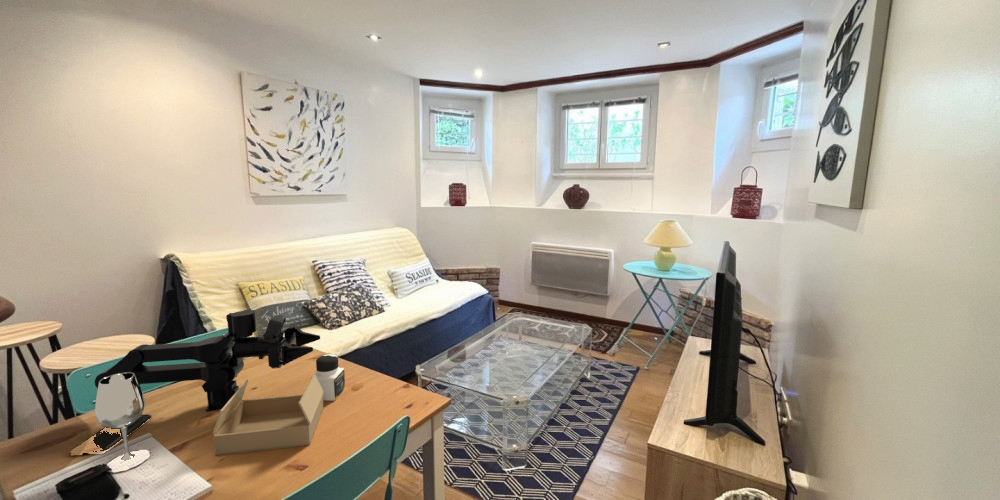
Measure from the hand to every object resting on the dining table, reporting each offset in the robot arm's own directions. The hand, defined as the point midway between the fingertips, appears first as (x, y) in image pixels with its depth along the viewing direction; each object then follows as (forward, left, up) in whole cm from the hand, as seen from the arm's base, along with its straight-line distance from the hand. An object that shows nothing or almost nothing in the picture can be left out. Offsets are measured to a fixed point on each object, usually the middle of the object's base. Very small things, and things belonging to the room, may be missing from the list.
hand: (316, 343), depth 114 cm
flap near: (-16, -16, -9) cm, 24 cm away
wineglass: (-35, -22, -17) cm, 45 cm away
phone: (-45, -10, -17) cm, 49 cm away
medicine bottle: (+3, 0, -17) cm, 17 cm away
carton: (-7, -16, -17) cm, 24 cm away
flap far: (+2, -16, -9) cm, 18 cm away
